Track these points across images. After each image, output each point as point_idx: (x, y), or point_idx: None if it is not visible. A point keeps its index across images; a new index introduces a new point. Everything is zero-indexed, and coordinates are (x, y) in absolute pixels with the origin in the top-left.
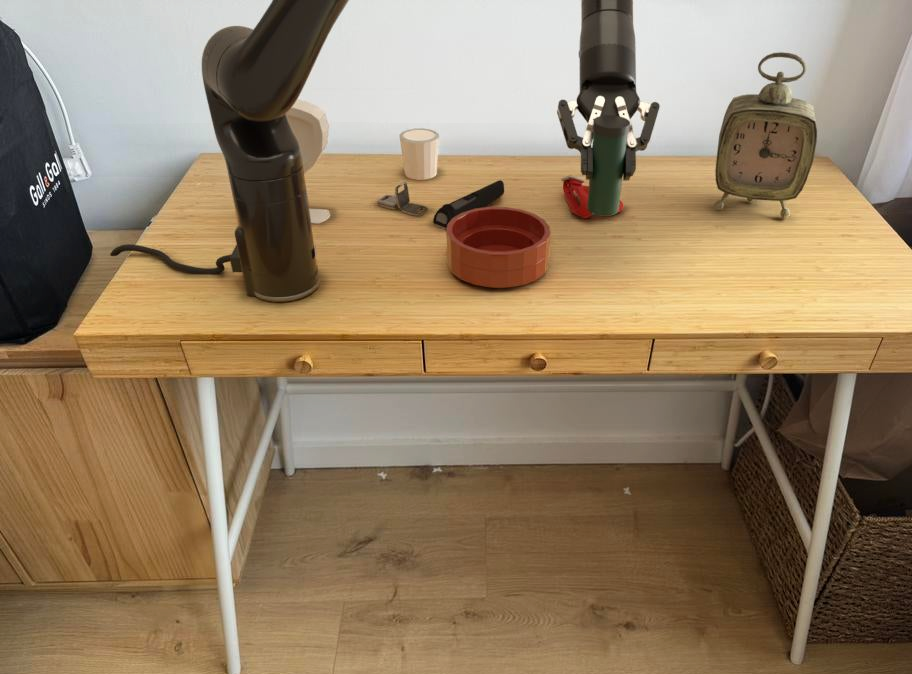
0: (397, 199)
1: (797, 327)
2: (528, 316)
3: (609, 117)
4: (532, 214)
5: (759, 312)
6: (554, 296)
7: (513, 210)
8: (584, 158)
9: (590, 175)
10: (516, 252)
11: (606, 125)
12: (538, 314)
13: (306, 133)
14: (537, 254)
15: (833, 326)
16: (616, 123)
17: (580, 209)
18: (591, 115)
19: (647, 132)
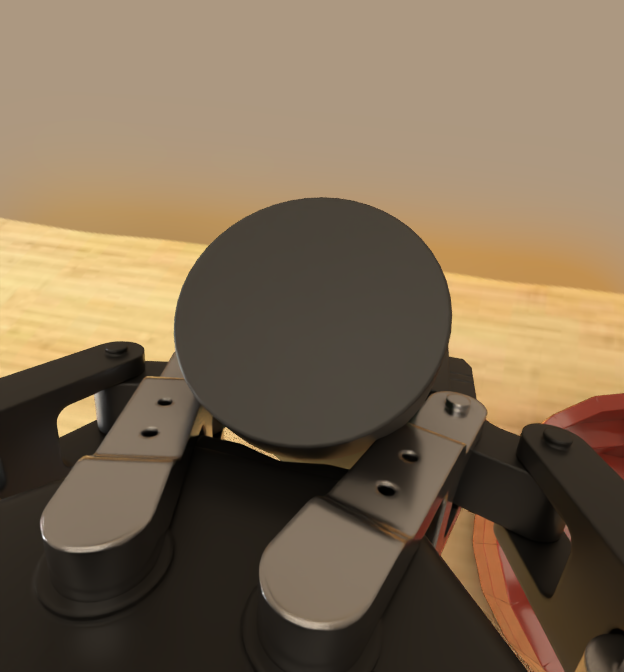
0: None
1: (95, 235)
2: (543, 325)
3: (293, 391)
4: (549, 657)
5: (121, 278)
6: (476, 387)
7: None
8: (461, 383)
9: None
10: (616, 395)
11: (375, 239)
12: (521, 329)
13: None
14: (541, 422)
15: (44, 230)
16: (289, 267)
17: None
18: (433, 486)
19: (79, 365)
